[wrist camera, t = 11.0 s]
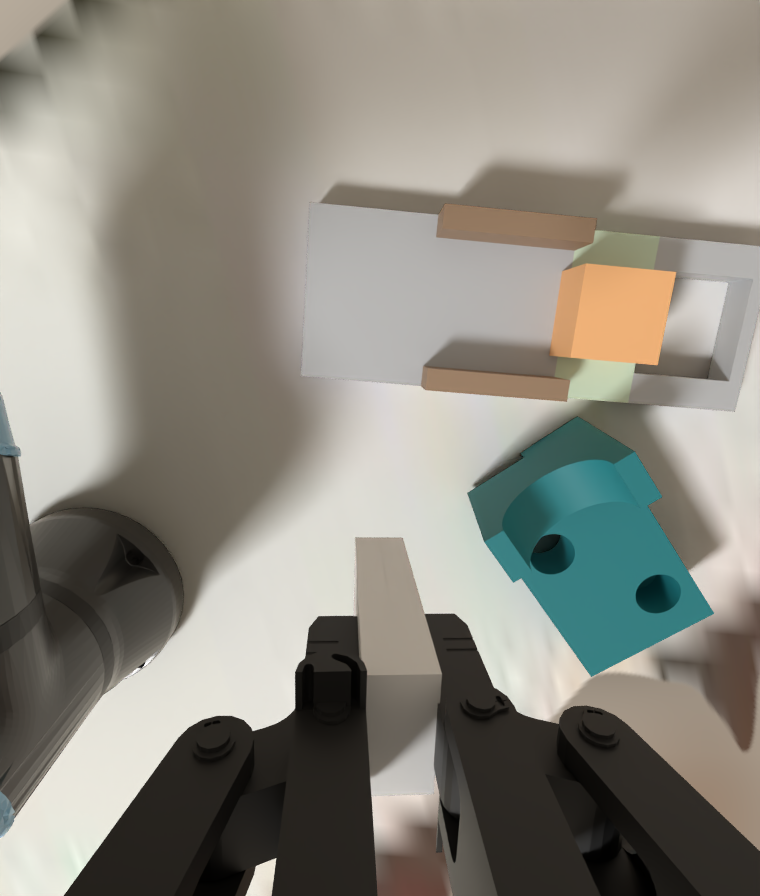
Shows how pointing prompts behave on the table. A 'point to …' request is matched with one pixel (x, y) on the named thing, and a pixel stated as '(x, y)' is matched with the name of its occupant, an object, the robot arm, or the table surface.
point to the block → (612, 313)
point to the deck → (498, 303)
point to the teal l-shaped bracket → (589, 544)
